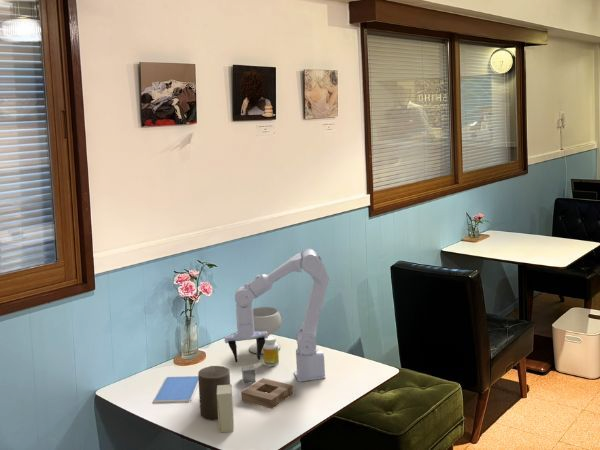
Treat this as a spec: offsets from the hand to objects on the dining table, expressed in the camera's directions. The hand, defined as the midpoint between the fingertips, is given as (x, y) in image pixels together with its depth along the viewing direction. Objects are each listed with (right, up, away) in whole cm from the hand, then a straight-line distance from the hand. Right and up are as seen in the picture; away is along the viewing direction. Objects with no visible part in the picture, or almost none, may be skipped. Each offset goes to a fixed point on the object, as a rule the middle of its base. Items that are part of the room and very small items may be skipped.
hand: (247, 360), depth 225 cm
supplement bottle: (+8, -5, +15) cm, 17 cm away
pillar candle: (-8, -12, -21) cm, 26 cm away
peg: (0, -7, +1) cm, 7 cm away
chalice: (+4, -2, +29) cm, 30 cm away
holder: (+8, -10, -12) cm, 17 cm away
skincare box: (-4, -14, -31) cm, 34 cm away
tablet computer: (-23, -10, -3) cm, 25 cm away
